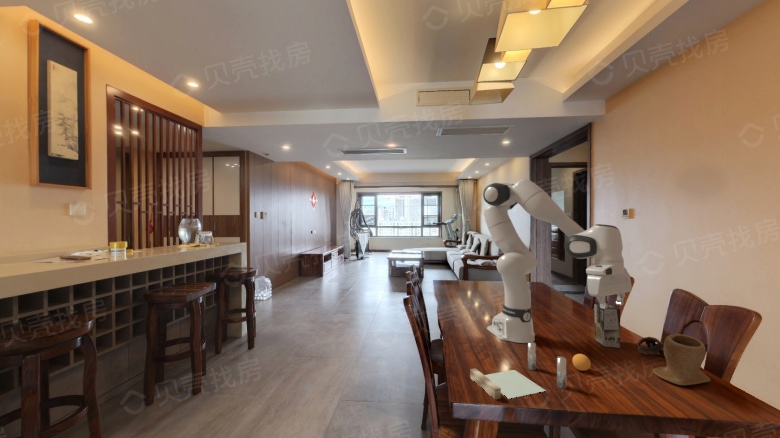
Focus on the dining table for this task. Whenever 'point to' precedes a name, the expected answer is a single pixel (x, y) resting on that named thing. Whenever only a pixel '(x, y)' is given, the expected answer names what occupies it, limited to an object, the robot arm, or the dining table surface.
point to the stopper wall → (485, 383)
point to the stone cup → (683, 360)
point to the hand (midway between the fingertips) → (611, 306)
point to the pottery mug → (651, 346)
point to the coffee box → (607, 325)
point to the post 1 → (531, 355)
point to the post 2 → (561, 372)
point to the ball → (581, 362)
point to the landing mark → (514, 384)
